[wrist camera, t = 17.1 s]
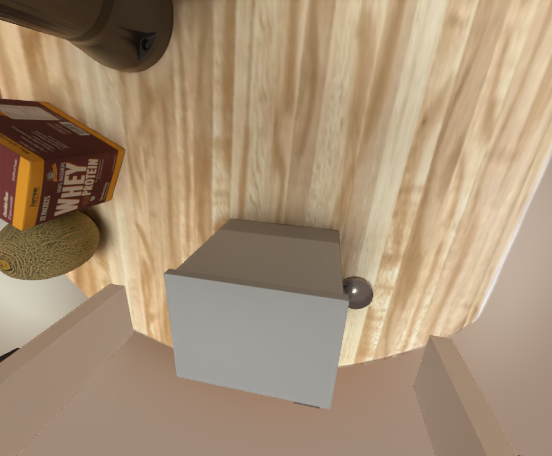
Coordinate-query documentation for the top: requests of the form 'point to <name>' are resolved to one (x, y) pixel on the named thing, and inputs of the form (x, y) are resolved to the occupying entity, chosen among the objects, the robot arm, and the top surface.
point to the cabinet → (261, 311)
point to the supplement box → (51, 164)
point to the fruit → (48, 247)
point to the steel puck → (357, 292)
